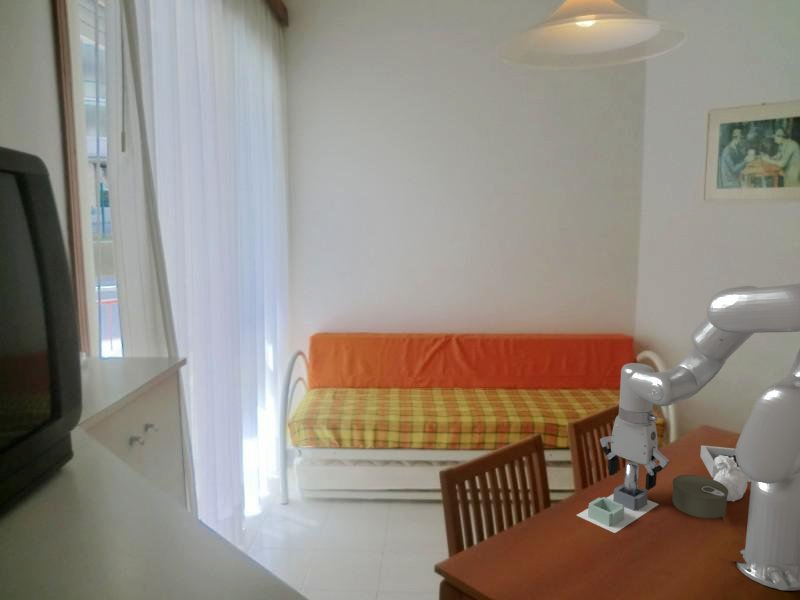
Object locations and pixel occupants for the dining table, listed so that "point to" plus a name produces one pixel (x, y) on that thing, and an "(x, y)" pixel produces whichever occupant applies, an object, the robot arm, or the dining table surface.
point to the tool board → (617, 509)
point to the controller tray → (711, 453)
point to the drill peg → (631, 478)
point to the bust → (730, 477)
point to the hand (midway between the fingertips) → (630, 480)
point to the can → (700, 496)
